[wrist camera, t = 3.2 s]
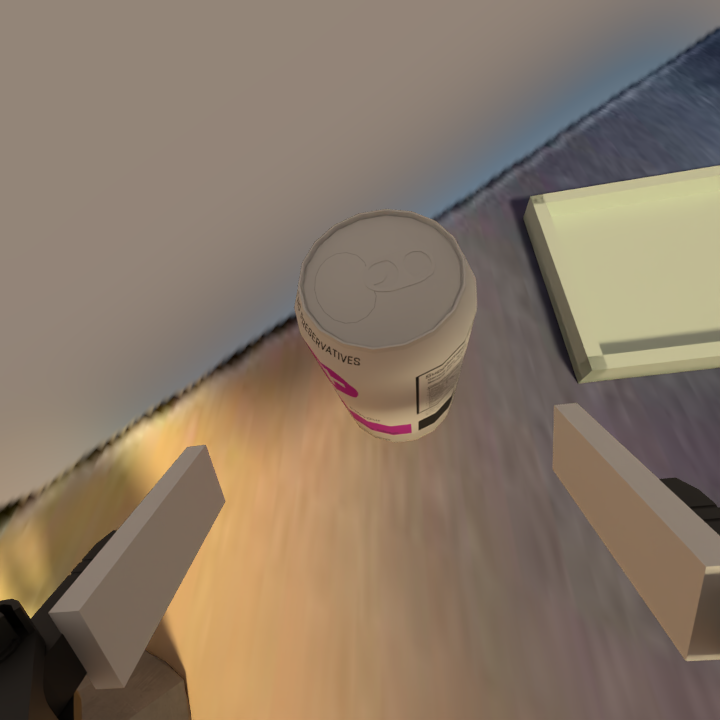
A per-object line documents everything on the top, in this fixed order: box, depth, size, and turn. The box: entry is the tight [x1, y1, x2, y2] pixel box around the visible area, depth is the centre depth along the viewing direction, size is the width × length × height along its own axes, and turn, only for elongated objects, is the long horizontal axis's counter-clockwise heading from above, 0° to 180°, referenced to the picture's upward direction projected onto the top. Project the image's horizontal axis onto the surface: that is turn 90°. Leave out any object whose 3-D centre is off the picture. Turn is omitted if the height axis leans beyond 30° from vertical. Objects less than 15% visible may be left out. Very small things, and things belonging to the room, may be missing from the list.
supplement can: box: [294, 209, 477, 442], centre depth 22 cm, size 8×8×15 cm
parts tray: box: [523, 165, 720, 383], centre depth 28 cm, size 20×16×2 cm
